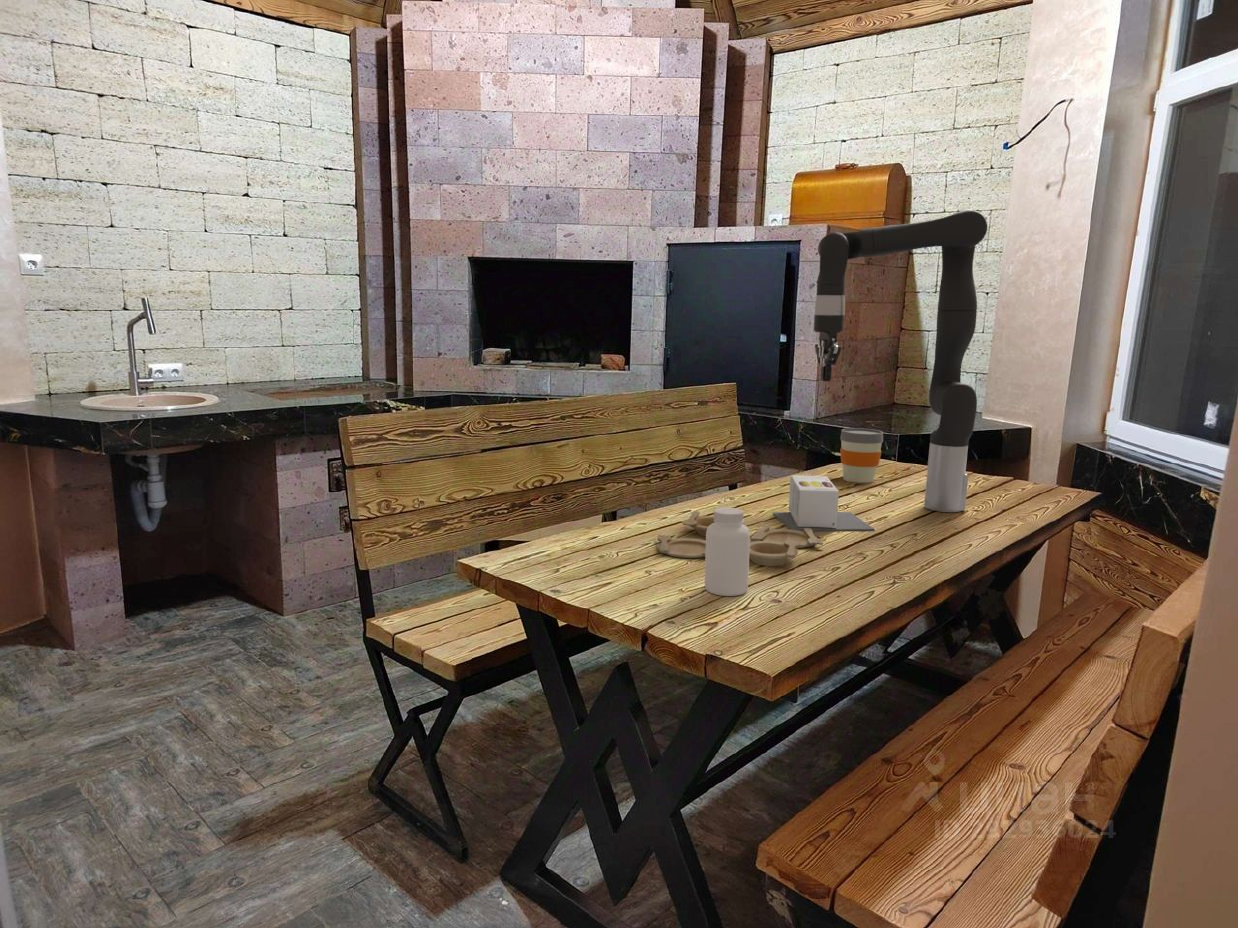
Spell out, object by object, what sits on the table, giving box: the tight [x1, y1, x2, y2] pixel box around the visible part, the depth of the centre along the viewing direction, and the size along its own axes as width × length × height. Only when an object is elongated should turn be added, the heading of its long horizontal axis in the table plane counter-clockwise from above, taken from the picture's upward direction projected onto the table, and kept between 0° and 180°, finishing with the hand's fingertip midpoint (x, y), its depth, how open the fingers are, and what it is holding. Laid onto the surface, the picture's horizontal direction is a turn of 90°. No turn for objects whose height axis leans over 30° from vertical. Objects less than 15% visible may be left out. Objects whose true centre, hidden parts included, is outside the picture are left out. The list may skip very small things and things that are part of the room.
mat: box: [772, 511, 876, 532], centre depth 199 cm, size 20×16×1 cm
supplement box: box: [788, 474, 840, 528], centre depth 199 cm, size 10×9×17 cm
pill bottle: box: [704, 507, 751, 597], centre depth 149 cm, size 8×8×15 cm
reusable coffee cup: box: [839, 427, 884, 484], centre depth 248 cm, size 12×13×15 cm
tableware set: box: [656, 510, 824, 567], centre depth 178 cm, size 35×29×4 cm
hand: (825, 381), depth 213 cm, fingers closed
